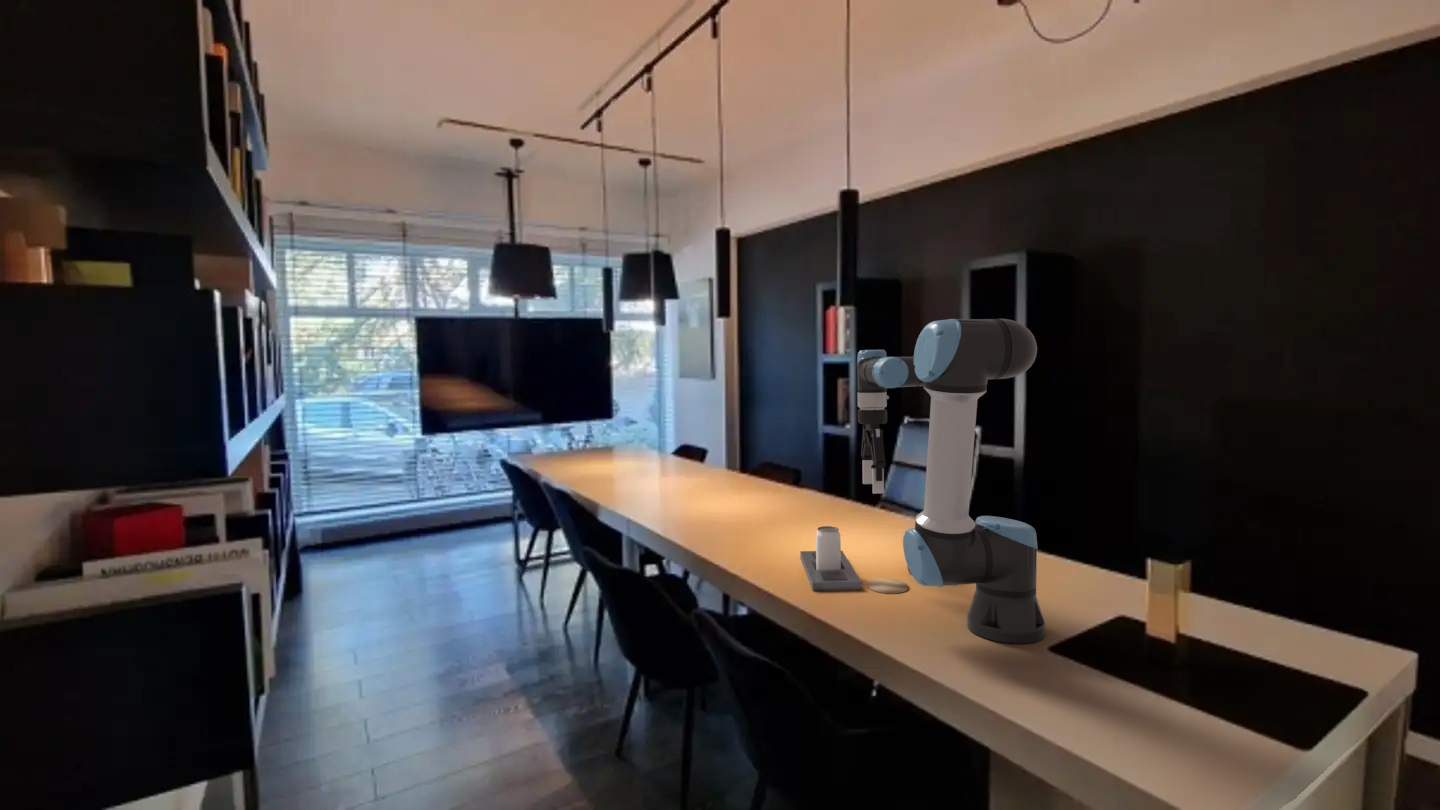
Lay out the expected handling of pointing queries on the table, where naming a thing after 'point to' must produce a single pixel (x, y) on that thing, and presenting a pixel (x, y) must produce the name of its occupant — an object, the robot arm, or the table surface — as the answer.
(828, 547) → the can
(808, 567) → the panel
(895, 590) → the coaster
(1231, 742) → the table surface
